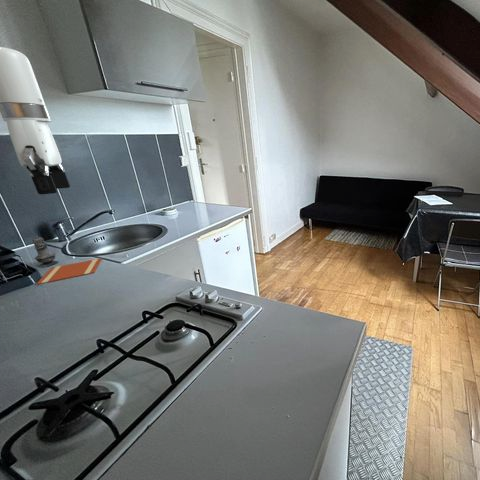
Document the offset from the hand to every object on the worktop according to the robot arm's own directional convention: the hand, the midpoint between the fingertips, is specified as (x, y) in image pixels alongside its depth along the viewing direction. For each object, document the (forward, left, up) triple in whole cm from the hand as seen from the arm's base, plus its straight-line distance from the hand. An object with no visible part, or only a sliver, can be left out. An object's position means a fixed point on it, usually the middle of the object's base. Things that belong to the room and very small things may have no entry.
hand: (55, 190), depth 65 cm
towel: (-13, +30, -32) cm, 45 cm away
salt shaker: (-23, +43, -32) cm, 58 cm away
